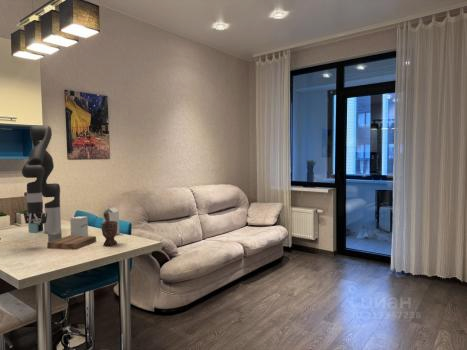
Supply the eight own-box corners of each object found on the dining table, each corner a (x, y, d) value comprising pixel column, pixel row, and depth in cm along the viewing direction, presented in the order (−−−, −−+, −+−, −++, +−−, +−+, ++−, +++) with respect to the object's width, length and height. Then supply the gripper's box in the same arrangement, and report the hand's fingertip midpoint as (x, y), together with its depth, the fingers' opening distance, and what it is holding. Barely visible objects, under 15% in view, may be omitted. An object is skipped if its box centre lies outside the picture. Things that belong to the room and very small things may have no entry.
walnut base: (47, 248, 184) (47, 242, 184) (69, 240, 201) (69, 235, 201) (75, 249, 180) (75, 244, 180) (96, 241, 198) (95, 236, 197)
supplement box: (81, 238, 206) (80, 218, 205) (70, 238, 207) (69, 218, 207) (88, 235, 213) (87, 216, 212) (78, 235, 215) (77, 216, 214)
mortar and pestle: (119, 246, 185) (118, 211, 184) (103, 248, 181) (102, 212, 180) (116, 242, 195) (115, 208, 194) (101, 244, 191) (100, 209, 190)
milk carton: (119, 233, 219) (118, 204, 218) (114, 235, 212) (113, 206, 211) (109, 233, 219) (108, 204, 218) (103, 235, 212) (102, 206, 211)
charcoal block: (48, 242, 197) (48, 234, 197) (54, 240, 202) (54, 232, 202) (55, 242, 196) (55, 234, 196) (61, 240, 201) (61, 232, 201)
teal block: (28, 232, 183) (28, 223, 183) (35, 230, 188) (35, 222, 188) (36, 233, 182) (36, 224, 182) (43, 231, 187) (43, 222, 187)
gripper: (18, 201, 182) (19, 232, 183) (40, 202, 179) (41, 233, 180) (29, 199, 189) (30, 229, 190) (50, 200, 186) (52, 230, 187)
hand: (36, 230), depth 185 cm, fingers closed on teal block, 5 cm apart
